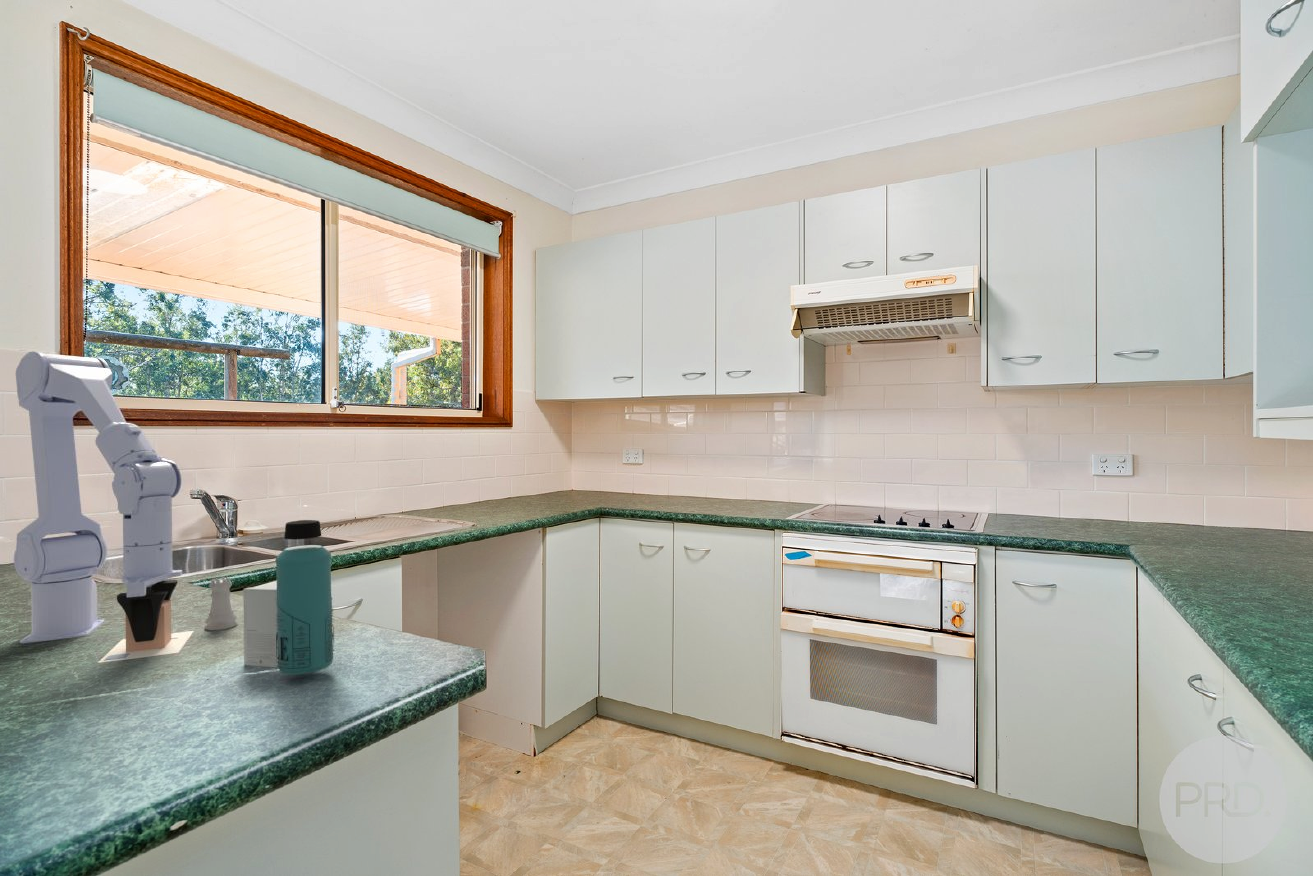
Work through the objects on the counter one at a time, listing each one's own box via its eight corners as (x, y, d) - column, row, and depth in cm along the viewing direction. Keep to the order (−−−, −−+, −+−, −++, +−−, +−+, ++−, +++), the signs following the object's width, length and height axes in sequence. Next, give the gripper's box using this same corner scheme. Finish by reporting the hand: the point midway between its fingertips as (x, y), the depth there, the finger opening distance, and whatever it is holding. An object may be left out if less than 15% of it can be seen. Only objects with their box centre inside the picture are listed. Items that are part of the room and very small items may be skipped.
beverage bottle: (346, 671, 86) (344, 517, 86) (303, 690, 80) (301, 524, 80) (307, 666, 88) (305, 516, 88) (262, 684, 82) (261, 522, 82)
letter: (122, 641, 100) (122, 638, 100) (193, 632, 104) (193, 630, 104) (97, 665, 90) (97, 662, 90) (178, 654, 94) (178, 652, 94)
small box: (278, 669, 87) (277, 589, 87) (242, 667, 88) (241, 588, 88) (321, 650, 95) (320, 577, 95) (287, 648, 96) (286, 576, 96)
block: (134, 643, 98) (133, 603, 98) (171, 639, 100) (170, 599, 100) (125, 652, 94) (125, 610, 94) (164, 647, 96) (164, 606, 96)
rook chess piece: (214, 625, 109) (214, 576, 109) (243, 624, 109) (242, 575, 109) (198, 632, 104) (197, 582, 104) (227, 631, 105) (227, 581, 105)
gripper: (170, 548, 92) (171, 645, 92) (190, 535, 105) (191, 620, 105) (106, 552, 89) (108, 653, 89) (135, 538, 102) (136, 626, 102)
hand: (149, 636), depth 97 cm, fingers closed on block, 4 cm apart
